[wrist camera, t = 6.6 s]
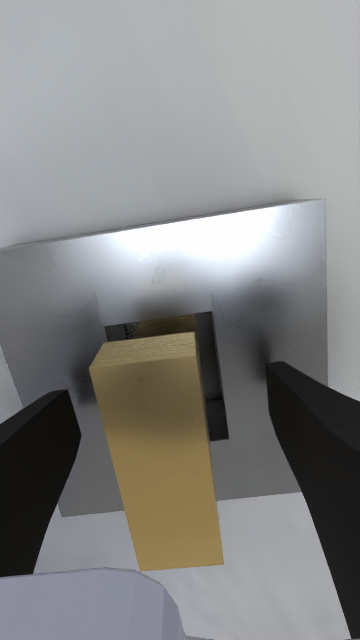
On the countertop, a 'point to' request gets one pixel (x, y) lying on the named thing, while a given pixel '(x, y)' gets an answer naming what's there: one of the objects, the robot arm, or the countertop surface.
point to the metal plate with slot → (167, 301)
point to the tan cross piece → (161, 442)
